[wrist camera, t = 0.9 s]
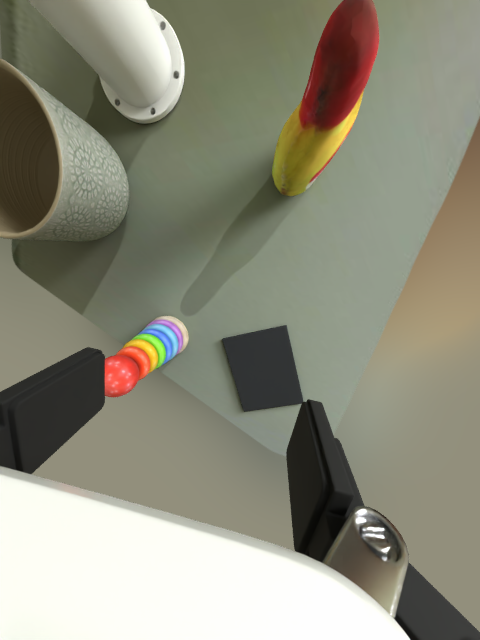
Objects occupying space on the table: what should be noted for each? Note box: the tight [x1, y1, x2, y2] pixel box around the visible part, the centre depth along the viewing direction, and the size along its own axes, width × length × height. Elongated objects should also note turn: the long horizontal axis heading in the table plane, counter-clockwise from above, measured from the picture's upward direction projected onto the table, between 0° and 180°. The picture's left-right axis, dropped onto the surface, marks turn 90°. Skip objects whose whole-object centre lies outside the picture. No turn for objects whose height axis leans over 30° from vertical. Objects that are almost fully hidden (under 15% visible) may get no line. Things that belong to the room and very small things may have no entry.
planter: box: [0, 58, 129, 241], centre depth 31 cm, size 17×17×15 cm
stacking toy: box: [105, 316, 188, 397], centre depth 35 cm, size 8×8×19 cm
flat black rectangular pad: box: [222, 325, 303, 412], centre depth 43 cm, size 16×12×1 cm
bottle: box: [272, 0, 379, 196], centre depth 23 cm, size 12×6×20 cm, turn 136°
